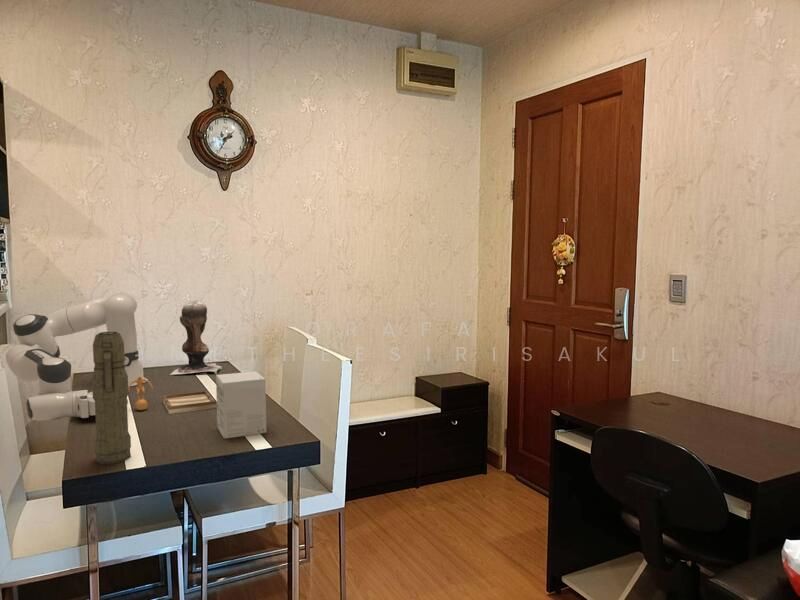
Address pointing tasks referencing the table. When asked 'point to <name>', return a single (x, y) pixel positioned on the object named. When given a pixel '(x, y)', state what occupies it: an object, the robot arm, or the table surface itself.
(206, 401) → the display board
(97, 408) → the olive green bag
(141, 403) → the figurine
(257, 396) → the supplement box
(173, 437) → the table surface
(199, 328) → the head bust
